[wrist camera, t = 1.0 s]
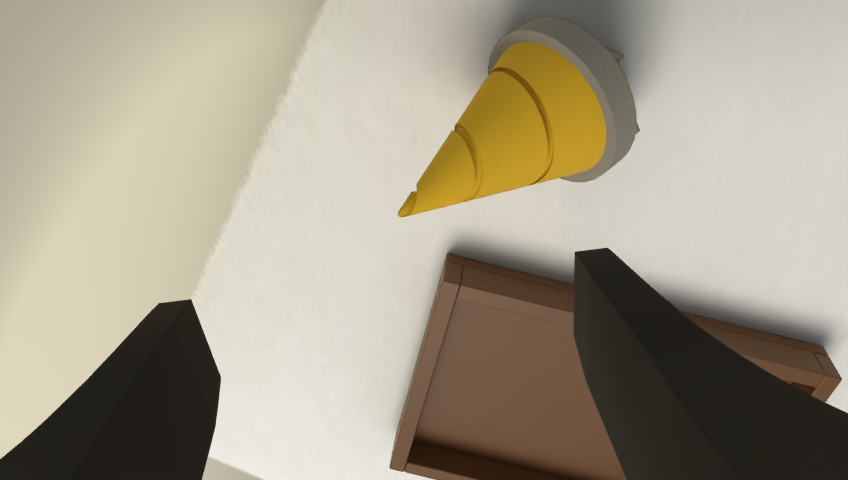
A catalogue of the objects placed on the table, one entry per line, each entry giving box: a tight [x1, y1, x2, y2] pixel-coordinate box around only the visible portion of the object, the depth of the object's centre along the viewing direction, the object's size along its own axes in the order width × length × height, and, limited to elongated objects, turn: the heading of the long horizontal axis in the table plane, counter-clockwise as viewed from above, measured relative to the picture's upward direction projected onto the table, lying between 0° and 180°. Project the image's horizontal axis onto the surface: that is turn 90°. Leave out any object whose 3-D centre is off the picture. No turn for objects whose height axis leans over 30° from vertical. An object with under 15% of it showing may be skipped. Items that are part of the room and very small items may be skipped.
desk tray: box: [390, 254, 842, 480], centre depth 30 cm, size 16×11×2 cm
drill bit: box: [398, 17, 640, 217], centre depth 22 cm, size 5×5×10 cm
